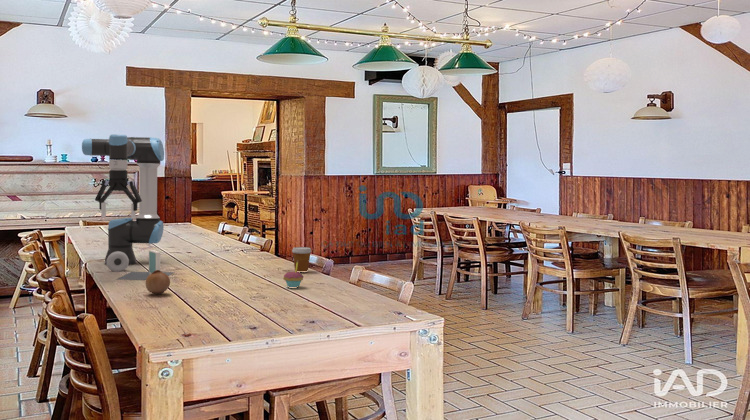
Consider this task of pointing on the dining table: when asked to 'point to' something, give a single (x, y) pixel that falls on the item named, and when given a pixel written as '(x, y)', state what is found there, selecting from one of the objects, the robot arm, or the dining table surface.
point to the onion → (157, 282)
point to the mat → (138, 276)
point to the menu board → (154, 261)
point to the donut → (114, 256)
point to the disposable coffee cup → (301, 258)
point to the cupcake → (293, 278)
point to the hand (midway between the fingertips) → (118, 217)
